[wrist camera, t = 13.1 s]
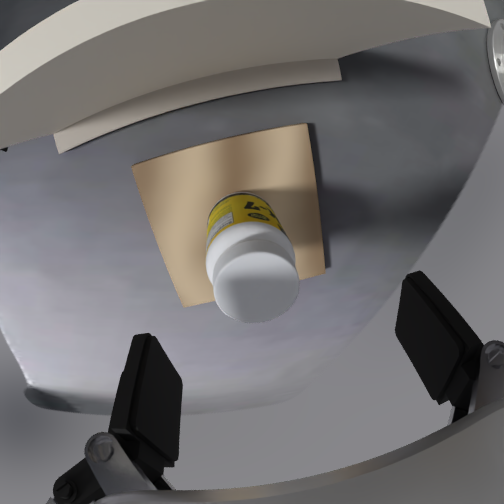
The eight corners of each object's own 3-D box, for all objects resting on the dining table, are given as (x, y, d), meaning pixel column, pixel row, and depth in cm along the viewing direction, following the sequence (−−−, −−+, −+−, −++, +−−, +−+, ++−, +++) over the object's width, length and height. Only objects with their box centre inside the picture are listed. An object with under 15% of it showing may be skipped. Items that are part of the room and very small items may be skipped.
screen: (324, 26, 15) (466, -42, 3) (336, 81, 17) (500, 73, 5) (51, 98, 15) (-102, 124, 2) (65, 151, 17) (-80, 229, 4)
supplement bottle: (287, 219, 21) (328, 284, 13) (243, 263, 22) (259, 343, 15) (238, 175, 19) (255, 222, 11) (193, 226, 20) (183, 298, 13)
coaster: (303, 122, 18) (306, 123, 18) (322, 268, 24) (325, 273, 23) (134, 164, 18) (131, 166, 17) (184, 301, 24) (183, 307, 23)
